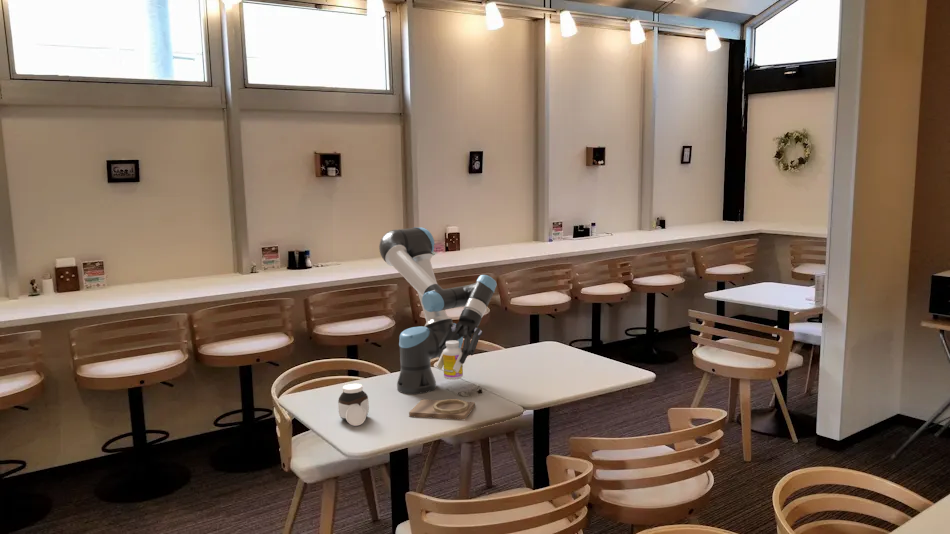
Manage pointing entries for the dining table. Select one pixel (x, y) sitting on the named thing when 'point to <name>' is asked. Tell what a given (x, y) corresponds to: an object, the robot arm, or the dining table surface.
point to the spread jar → (353, 404)
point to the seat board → (442, 409)
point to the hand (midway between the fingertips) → (446, 369)
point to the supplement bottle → (452, 360)
